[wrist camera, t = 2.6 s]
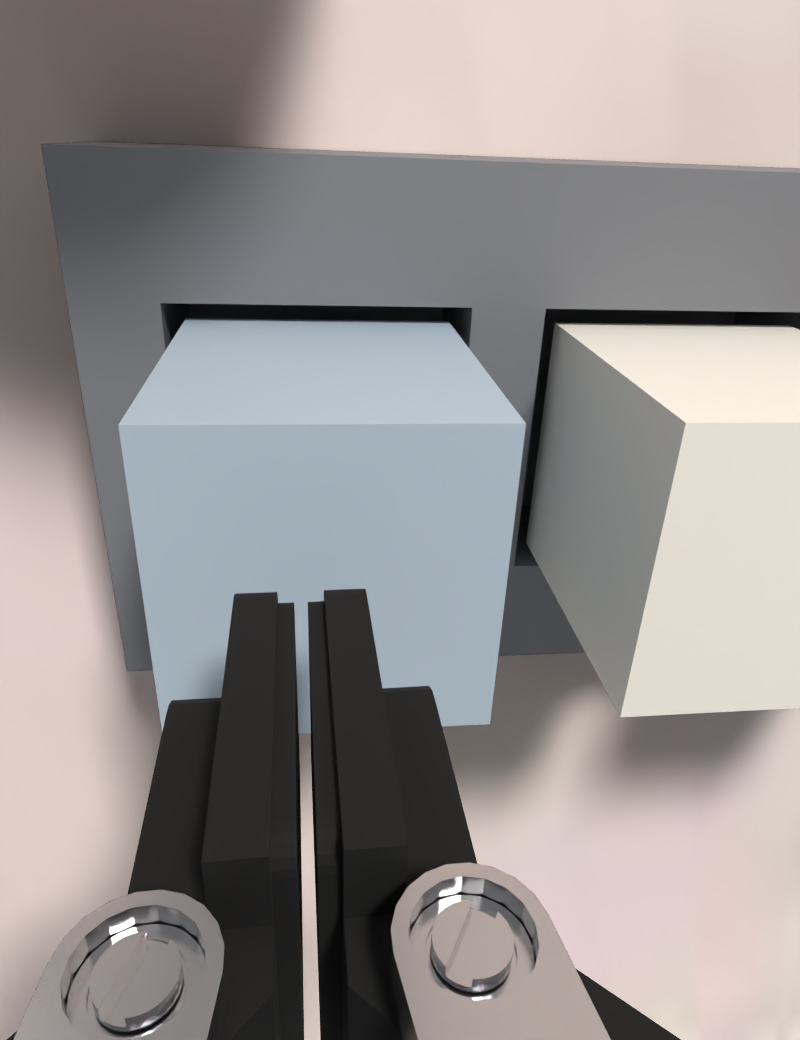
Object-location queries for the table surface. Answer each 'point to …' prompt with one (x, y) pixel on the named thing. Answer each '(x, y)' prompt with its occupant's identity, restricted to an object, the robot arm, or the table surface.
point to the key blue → (325, 497)
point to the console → (399, 279)
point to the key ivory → (675, 511)
